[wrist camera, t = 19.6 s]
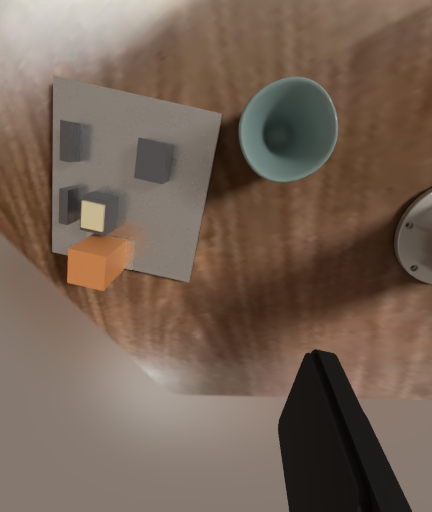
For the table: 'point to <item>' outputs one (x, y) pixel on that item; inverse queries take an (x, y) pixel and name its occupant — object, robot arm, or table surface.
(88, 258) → the cap
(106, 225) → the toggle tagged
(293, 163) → the cup
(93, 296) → the table surface
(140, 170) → the toggle
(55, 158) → the panel
